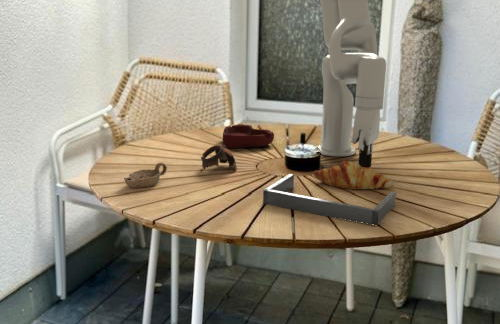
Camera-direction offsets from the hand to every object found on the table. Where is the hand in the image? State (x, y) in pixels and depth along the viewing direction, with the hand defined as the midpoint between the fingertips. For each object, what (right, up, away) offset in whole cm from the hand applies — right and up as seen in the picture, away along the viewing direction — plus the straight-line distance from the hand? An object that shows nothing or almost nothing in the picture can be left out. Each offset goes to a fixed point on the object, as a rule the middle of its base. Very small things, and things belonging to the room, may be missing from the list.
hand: (364, 166), depth 166 cm
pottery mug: (-41, -1, +6) cm, 41 cm away
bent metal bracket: (-13, -9, -22) cm, 27 cm away
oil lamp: (-60, -5, -9) cm, 61 cm away
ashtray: (-35, +7, +32) cm, 48 cm away
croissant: (-5, -5, -7) cm, 10 cm away
